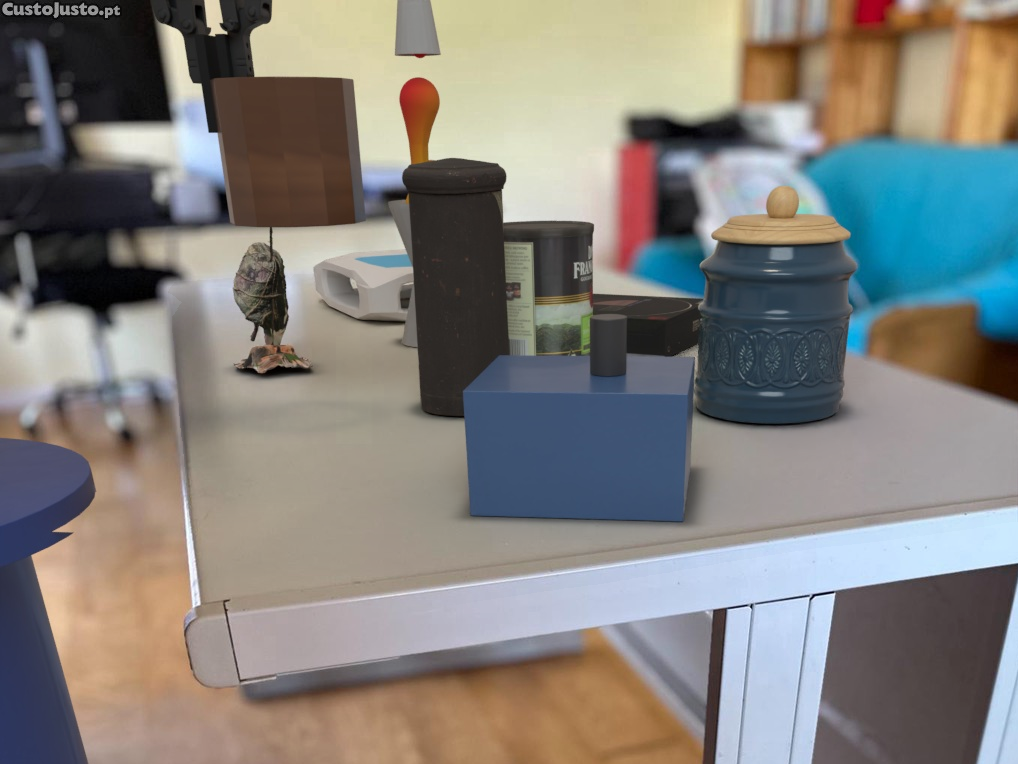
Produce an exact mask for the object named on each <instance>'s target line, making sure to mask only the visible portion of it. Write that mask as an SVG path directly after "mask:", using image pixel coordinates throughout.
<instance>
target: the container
mask: <svg viewBox="0 0 1018 764" xmlns="http://www.w3.org/2000/svg"><path fill="white" fill-rule="evenodd" d="M434 160H435V159H434ZM401 180H402V183H403V186H404V187H405V190H406V191H407V195H408V194H409V212H410V225H411V240H412V256H413V276H414V294H415V310H416V327H417V345H418V347H417V359H418V361H417V362H418V376H419V377H418V378H419V392H420V393H419V396H420V407H421V409H422V410H423V411H424V412H426V413H428V414H433V415H436V416H447V417H448V416H449V417H464V402H463V391H464V390H465V389H466V388H467V387H468V386H469V385H470V384H471V383H472V382H473V381H474V380H475V379H476V378H477V377H478V376H479V375H480V374H481V373H482V372H483V371H484V370H485V369H486V368H487V367H488V366H489V365H490V364H491V363H492V362H493V361H494V360H495V359H496V358H497V357H498V356H499V355H510V353H509V334H508V315H507V297H506V274H505V253H504V230H503V223H504V206H503V205H504V204H503V190H504V189H505V184H506V182H507V172H506V170H505V168H503V167H502V166H500V163H497V162H490V161H488V162H487V161H483V160H476V159H468V158H462V157H461V158H459V157H447V158H441V159H436V160H435V161H428V162H423V163H417V164H411V163H410V164H409V165H408V166H407V167H406V168H404V170H403V172H402V174H401Z"/></svg>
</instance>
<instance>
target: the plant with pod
mask: <svg viewBox="0 0 1018 764" xmlns="http://www.w3.org/2000/svg"><path fill="white" fill-rule="evenodd" d="M273 233H274V232H273V227H269V241H268V243H269V244H267V243H265V242H252V243H251V244H250V245H249V246H248V247H247V250H246V251H245V252H244V255H243V256H242V259H241V261H240V263H239V267H238V270H237V271H236V272H235V276H234V278H233V286H232V292H233V299H234V302H235V304H236V305H237V307H238V309H240V311H241V313H242V314H243V315H244V316H245V317H244V318H245V320H246V321H248V322H251V323H253V326H254V327H253V331H252V333H251V335H250V336H249V337H250V341H251V342H256V338H257V335H258V332H259V327H260V328H262V330H263V334H264V336H263V338H264V343H265V344H264V345H256V346H253V347H252V348H251V349H250V350H249V353H248V357H247V358H243V359H241V360H240V362H239V363H233V366H234V367H236V368H237V369H246V368H247V369H248V368H249V369H254V370H255V371H256V372H257V373H258V374H265V373H267V371H271V370H273V369H275V368H276V367H278V366H280V367H281V368H284V367H285V368H290V367H291V369H294V368H296V369H298V368H302V369H306V370H307V369H311V368H313V367H314V365H312V364H311V362H312V361H311V360H309V358H307V357H299V356H298V354H297V353H296V349H295V348H294V346H292V345H290V344H281V343H282V340H283V337H284V335H285V332H286V330H287V326H288V324H289V323H288V322H289V318H290V316H289V309H290V307H289V303H288V297H287V281H286V274H285V267H286V266H285V265H284V260H283V258H282V256H281V253H280V252H278V251H277V250H276V249H273V247H274V246H273V243H274V242H273V241H274V240H273Z"/></svg>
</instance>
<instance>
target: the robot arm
mask: <svg viewBox="0 0 1018 764" xmlns="http://www.w3.org/2000/svg"><path fill="white" fill-rule="evenodd" d="M149 1H150V4H151V8H152V11H153V14H154V17H155V19H156V20H157V21H158V23H160V24H162V25H166V26H168V27H171V28H173V29H176V30H177V31H179V33H180V34H181V36H182V38H183V43H184V50H185V56H186V61H187V68H188V74H189V75H188V77H189V78H190V80H191V82H192V84H198V85H199V84H200V86H201V90H202V97H203V106H204V111H205V117H206V123H207V125H206V126H207V131H208V134H218V133H217V126H216V120H215V113H214V106H213V99H212V92H211V85H210V80H212V79H214V78H230V77H256V76H255V68H254V61H253V60H254V59H253V52H252V44H251V34H252V32H253V30H255V29H256V28H258V27H261V26H262V25H263V26H264V25H267V24H269V23H270V22H271V21H272V17H273V16H272V15H273V0H218V2H219V8H220V13H221V19H222V22H218V24H219V26H220V28H221V30H222V31H224V32H226V33H214V35H210V34H211V32H212V27H211V26H208V20H207V11H206V3H205V0H149Z"/></svg>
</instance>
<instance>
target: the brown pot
mask: <svg viewBox="0 0 1018 764" xmlns="http://www.w3.org/2000/svg"><path fill="white" fill-rule="evenodd" d="M210 85H211V92H212V99H213V106H214V113H215V120H216V126H217V133H216V134H217V139H218V146H219V147H218V148H219V153H220V161H221V168H222V175H223V179H224V180H223V181H224V188H225V195H226V202H227V209H228V216H229V222H230V224H232V225H233V226H235V227H246V228H247V227H250V228H270V227H272V228H307V227H308V228H310V227H311V228H312V227H314V228H315V227H333V226H344V225H355V224H359V223H363V222H366V221H367V217H366V208H365V207H366V206H365V196H364V195H365V194H364V182H363V174H362V173H363V171H362V161H361V150H360V149H361V148H360V139H359V127H358V114H357V106H356V105H357V104H356V103H357V102H356V94H355V93H356V92H355V80H354V79H353V78H347V77H331V76H329V77H328V76H254V77H230V78H214V79H212V80H210Z"/></svg>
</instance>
